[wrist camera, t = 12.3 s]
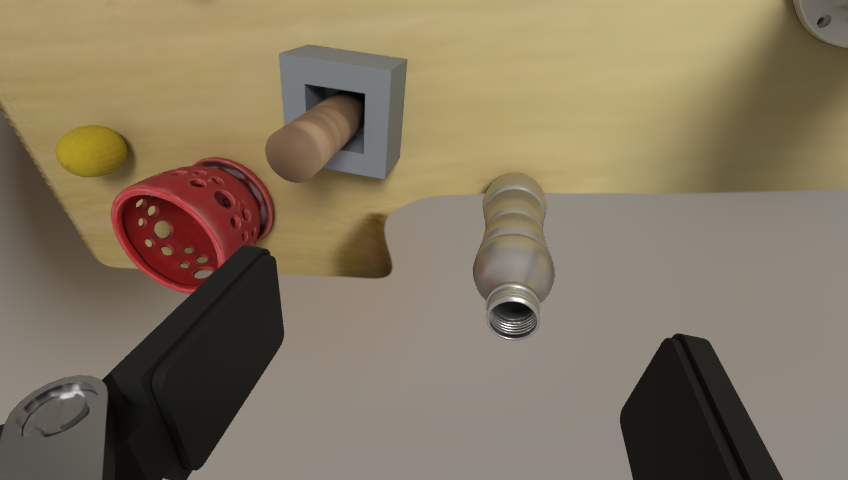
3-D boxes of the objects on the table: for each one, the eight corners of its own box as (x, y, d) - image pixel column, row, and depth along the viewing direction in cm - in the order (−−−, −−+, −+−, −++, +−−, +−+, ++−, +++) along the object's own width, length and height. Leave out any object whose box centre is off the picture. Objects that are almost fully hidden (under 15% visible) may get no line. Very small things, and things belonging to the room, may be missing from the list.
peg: (372, 90, 40) (317, 134, 29) (371, 130, 42) (318, 186, 31) (333, 83, 41) (262, 125, 29) (333, 123, 43) (267, 177, 31)
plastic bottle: (491, 226, 47) (477, 359, 31) (478, 172, 44) (454, 287, 28) (549, 217, 45) (568, 353, 29) (540, 159, 42) (554, 275, 26)
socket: (407, 59, 40) (391, 70, 35) (399, 157, 45) (384, 179, 40) (308, 44, 41) (278, 53, 36) (312, 142, 46) (287, 161, 41)
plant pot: (248, 133, 47) (175, 174, 37) (299, 230, 53) (249, 288, 43) (164, 160, 51) (79, 203, 41) (221, 247, 57) (158, 304, 47)
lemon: (145, 166, 52) (91, 193, 46) (104, 153, 52) (45, 178, 46) (139, 125, 49) (80, 147, 43) (95, 111, 49) (30, 131, 43)
